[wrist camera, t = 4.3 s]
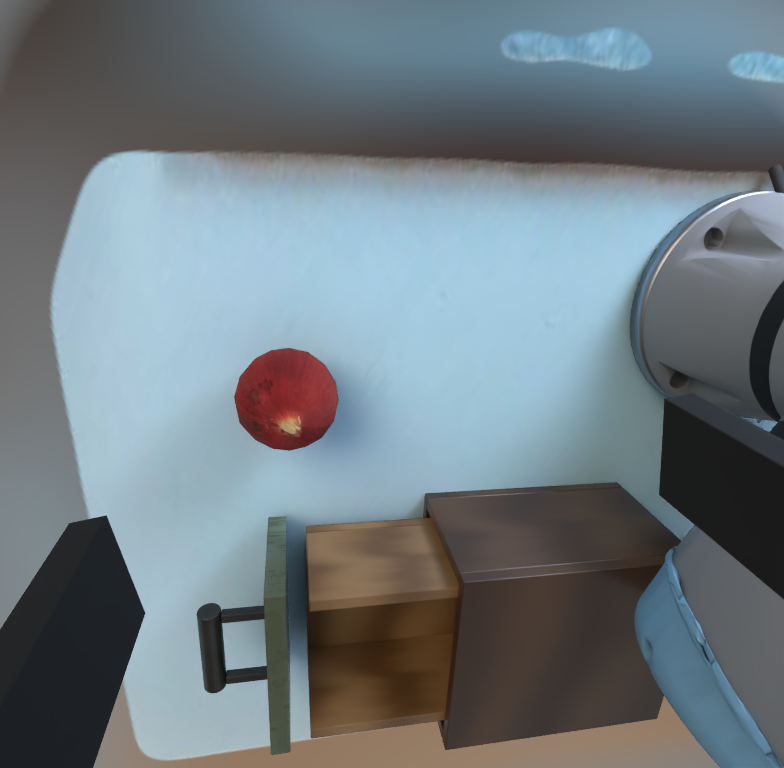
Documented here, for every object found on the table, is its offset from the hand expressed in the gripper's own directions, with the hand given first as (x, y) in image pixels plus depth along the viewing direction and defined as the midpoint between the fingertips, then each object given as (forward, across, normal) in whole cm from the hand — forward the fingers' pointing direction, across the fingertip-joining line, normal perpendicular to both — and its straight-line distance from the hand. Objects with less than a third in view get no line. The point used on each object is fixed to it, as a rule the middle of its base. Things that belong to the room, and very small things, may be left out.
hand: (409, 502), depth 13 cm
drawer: (+22, -3, -21) cm, 30 cm away
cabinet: (+23, +10, -23) cm, 34 cm away
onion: (+23, -4, -4) cm, 24 cm away
